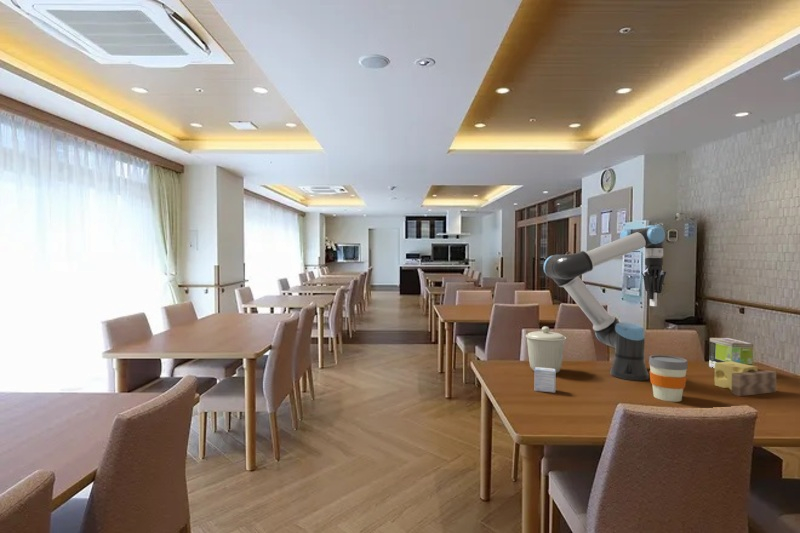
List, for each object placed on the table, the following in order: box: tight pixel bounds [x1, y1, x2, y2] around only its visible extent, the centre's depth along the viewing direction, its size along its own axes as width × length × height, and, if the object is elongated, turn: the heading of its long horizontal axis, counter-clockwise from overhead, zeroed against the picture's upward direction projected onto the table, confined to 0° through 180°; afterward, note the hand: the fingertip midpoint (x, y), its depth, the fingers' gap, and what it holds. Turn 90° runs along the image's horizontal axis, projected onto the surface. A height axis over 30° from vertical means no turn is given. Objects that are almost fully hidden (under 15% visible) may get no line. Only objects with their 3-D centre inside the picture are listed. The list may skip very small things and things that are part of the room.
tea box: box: [708, 337, 754, 369], centre depth 199 cm, size 15×10×15 cm, turn 179°
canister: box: [525, 326, 567, 374], centre depth 196 cm, size 18×18×21 cm
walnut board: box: [731, 369, 777, 397], centre depth 166 cm, size 20×3×8 cm, turn 106°
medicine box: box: [534, 367, 557, 393], centre depth 167 cm, size 8×4×9 cm, turn 71°
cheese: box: [714, 361, 759, 391], centre depth 172 cm, size 10×11×10 cm
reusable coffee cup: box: [648, 354, 689, 403], centre depth 159 cm, size 13×13×15 cm
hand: (653, 305), depth 202 cm, fingers closed
